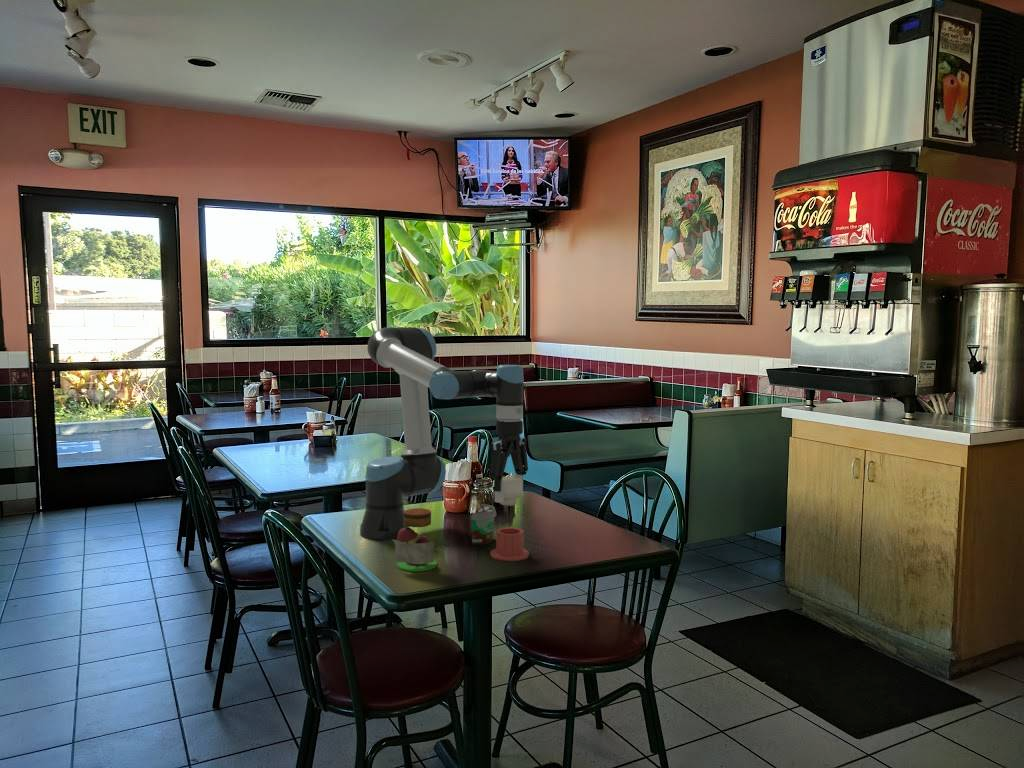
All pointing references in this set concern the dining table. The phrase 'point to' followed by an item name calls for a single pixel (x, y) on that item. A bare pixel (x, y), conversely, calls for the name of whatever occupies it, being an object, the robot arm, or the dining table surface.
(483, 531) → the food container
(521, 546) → the red flanged cylinder
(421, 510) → the translucent plastic tub
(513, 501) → the grey rounded piece
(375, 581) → the dining table surface
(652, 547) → the dining table surface
